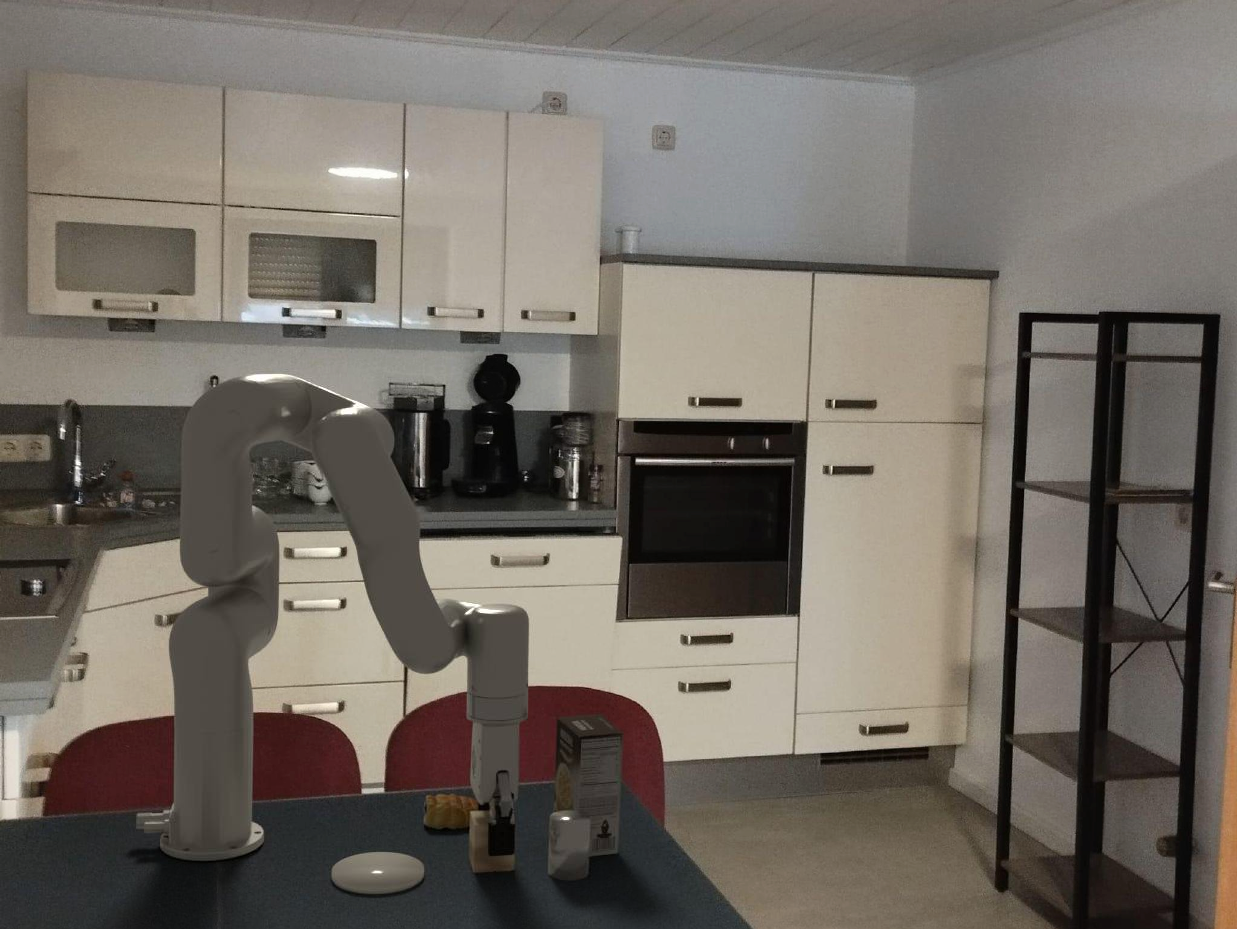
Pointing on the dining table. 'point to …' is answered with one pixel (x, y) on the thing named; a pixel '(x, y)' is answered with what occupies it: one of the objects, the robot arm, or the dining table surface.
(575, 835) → the tin
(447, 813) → the pastry
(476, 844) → the block
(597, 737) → the coffee box
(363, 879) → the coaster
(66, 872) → the dining table surface
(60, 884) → the dining table surface
